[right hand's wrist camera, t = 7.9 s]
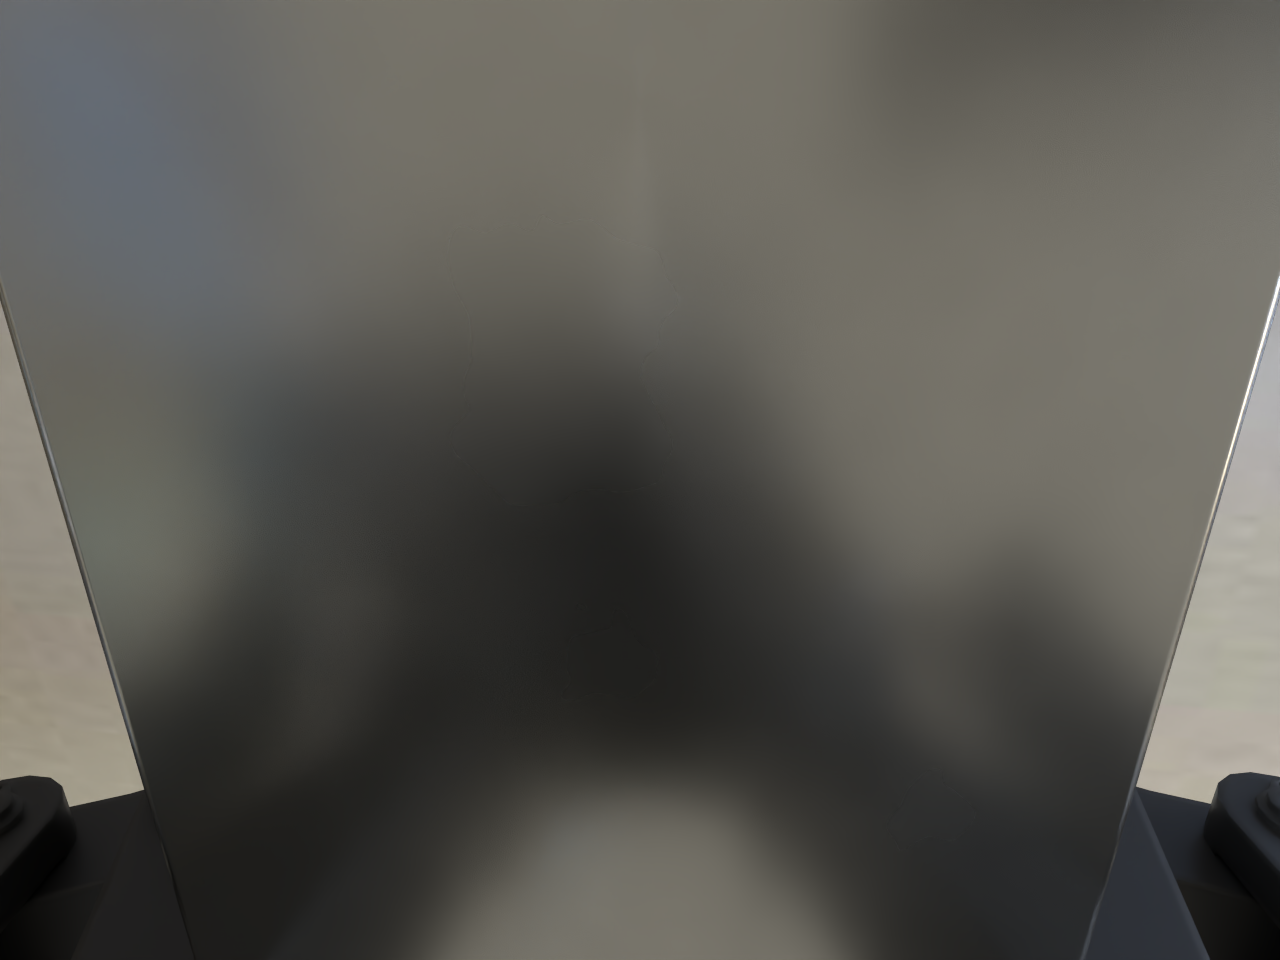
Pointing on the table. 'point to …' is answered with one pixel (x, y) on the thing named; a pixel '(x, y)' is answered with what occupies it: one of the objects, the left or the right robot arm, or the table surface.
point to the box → (639, 449)
